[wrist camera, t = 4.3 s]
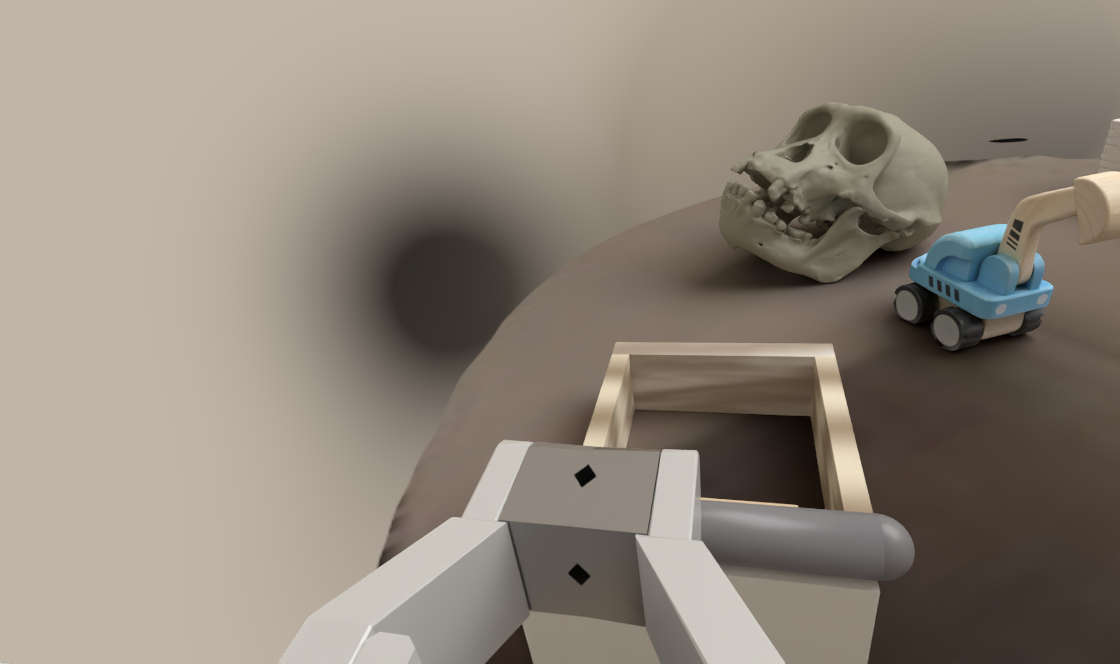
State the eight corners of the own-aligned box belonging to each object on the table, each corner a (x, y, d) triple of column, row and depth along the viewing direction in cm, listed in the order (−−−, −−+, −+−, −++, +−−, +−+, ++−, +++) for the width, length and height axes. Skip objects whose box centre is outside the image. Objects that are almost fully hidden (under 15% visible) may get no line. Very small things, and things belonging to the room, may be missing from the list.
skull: (809, 267, 91) (669, 214, 78) (887, 133, 85) (748, 49, 71) (911, 323, 77) (760, 271, 63) (1016, 166, 70) (872, 68, 56)
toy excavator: (1019, 399, 50) (1076, 196, 41) (883, 312, 64) (906, 148, 56) (1110, 375, 51) (1184, 172, 42) (956, 294, 65) (989, 131, 57)
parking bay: (866, 605, 36) (878, 535, 33) (575, 571, 41) (563, 507, 38) (826, 402, 53) (832, 343, 50) (622, 396, 58) (616, 342, 55)
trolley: (850, 919, 24) (936, 555, 14) (563, 847, 28) (458, 510, 17) (814, 609, 36) (846, 283, 25) (615, 585, 39) (571, 288, 29)
